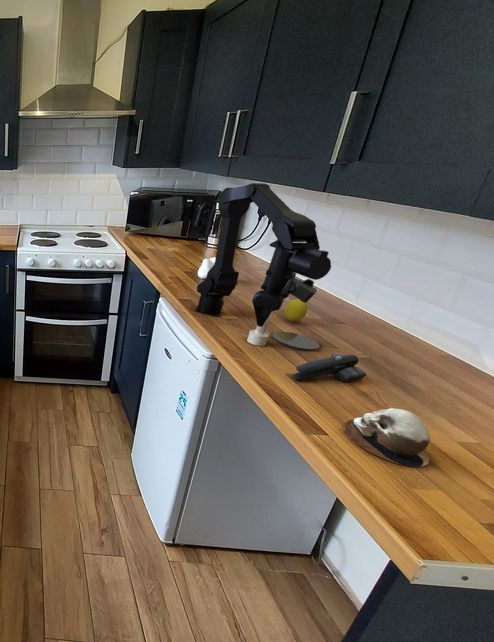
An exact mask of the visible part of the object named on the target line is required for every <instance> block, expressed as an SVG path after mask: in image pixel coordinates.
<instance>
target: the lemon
mask: <svg viewBox="0 0 494 642" xmlns="http://www.w3.org/2000/svg"><path fill="white" fill-rule="evenodd" d="M307 313H308V304H307V303H304V302H302V301H300V299H298V298H296V299H293V300H290V301H289V302H288V303H287V305H286V307H285V308H284V316H285V318H286V319H287V320H289V322H290V323H294V322H298V321H302V320H303V319H304V318H305V317H306V315H307Z"/></svg>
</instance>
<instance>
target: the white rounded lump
mask: <svg viewBox="0 0 494 642" xmlns="http://www.w3.org/2000/svg"><path fill="white" fill-rule="evenodd" d="M215 259H216V256H213V257H210V258H204V259H203V260H202V263H201V265H200V267H199V269H198V271H197V276H198V278H199V279H201V280H206V276H207V273H208V271H209V270H210V269H211V268H212V267H213V265H214V264H215Z"/></svg>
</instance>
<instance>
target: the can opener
mask: <svg viewBox="0 0 494 642" xmlns="http://www.w3.org/2000/svg"><path fill="white" fill-rule="evenodd" d="M359 361H360V360H359V358H358V356H357V355H355V354H344V355H342V354H338V353H335V352H333V353H331V354H330V357H325V358H321V359H315V360H312V361H308V362H305V363H302V364H299V365H297V366H296V367H295V370H296V371H297V372H294V373H293V374H291V377H292V378H293V379H294V380H296V381H308V380H312V379H316V378H320V377H324V376H328V375H334V377H335V378H337V379H338V380H340V381H342V382H344V383H353V382H358V381H360V380H363V379H364V378H365V377H366V376H367V373H366V372H364V370H362V369H361V368H360V367H358V366H356V365H357V364H358V363H359Z"/></svg>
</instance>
